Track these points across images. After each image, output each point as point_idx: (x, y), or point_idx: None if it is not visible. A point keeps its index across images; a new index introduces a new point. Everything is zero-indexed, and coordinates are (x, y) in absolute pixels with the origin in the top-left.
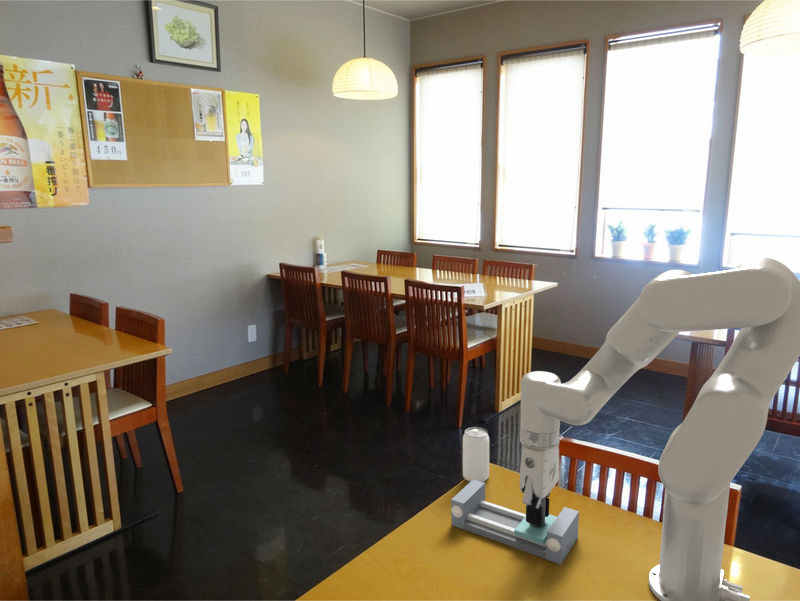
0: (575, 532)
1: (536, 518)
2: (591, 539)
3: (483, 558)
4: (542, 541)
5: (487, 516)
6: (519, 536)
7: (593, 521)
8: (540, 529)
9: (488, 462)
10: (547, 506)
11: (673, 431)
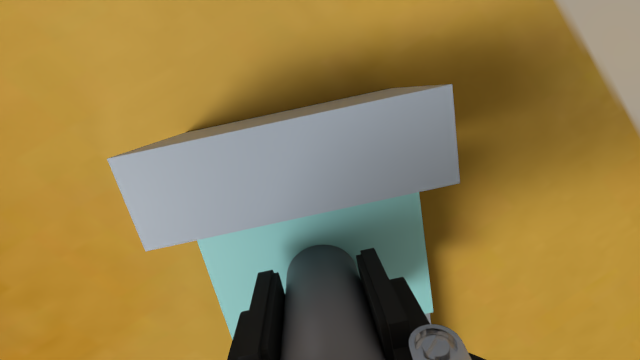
0: (207, 130)
1: (404, 288)
2: (145, 83)
3: (524, 293)
4: None
5: None
6: None
7: (20, 146)
8: (353, 241)
9: None
10: (269, 314)
11: None
